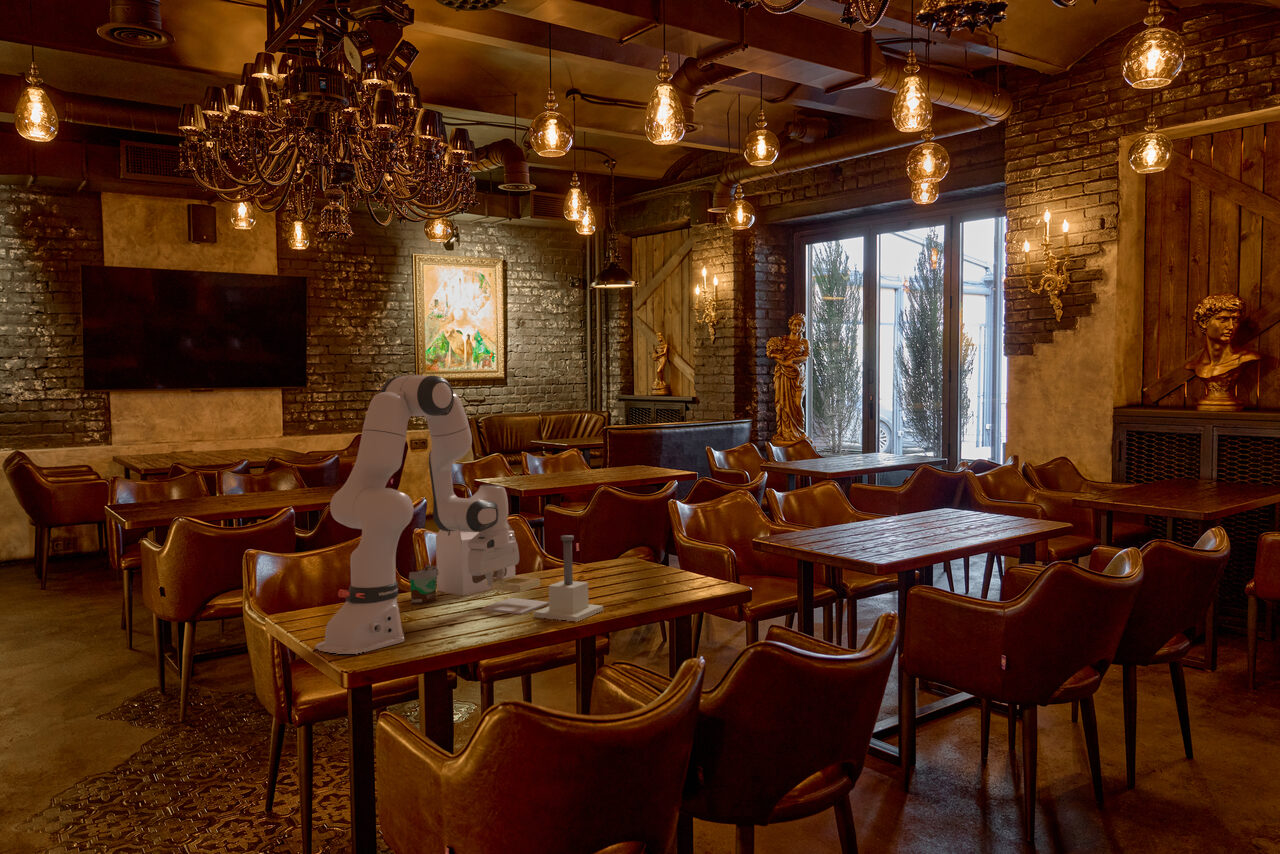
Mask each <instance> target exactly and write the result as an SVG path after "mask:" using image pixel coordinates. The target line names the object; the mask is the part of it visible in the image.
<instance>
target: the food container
mask: <svg viewBox="0 0 1280 854" xmlns="http://www.w3.org/2000/svg"><path fill="white" fill-rule="evenodd" d="M437 575H439V572H438V569H437V565H433V564H432V565H431V564H430V565H429V564H425V568H423V569H417V570H416V571H409V575H408V580H409V584H410V587H409V588H410V597H411V605H412V606H420V605H428V604H432V603H434V602H436V598H437V597H436V595H437Z"/></svg>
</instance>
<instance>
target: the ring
mask: <svg viewBox="0 0 1280 854" xmlns="http://www.w3.org/2000/svg"><path fill="white" fill-rule="evenodd" d="M493 579H494V580H496V582H492V590H494V591H502V592H509V593H510V592H512V593H522V592H525V591H529V590H531V589H534V588H537V587H541V578H539V577H538V578H537V577H526V576H525V577H523V576H517V575H515V576H511V577H508V578H505V579H502V578H493ZM487 585H488V580H487Z"/></svg>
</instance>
